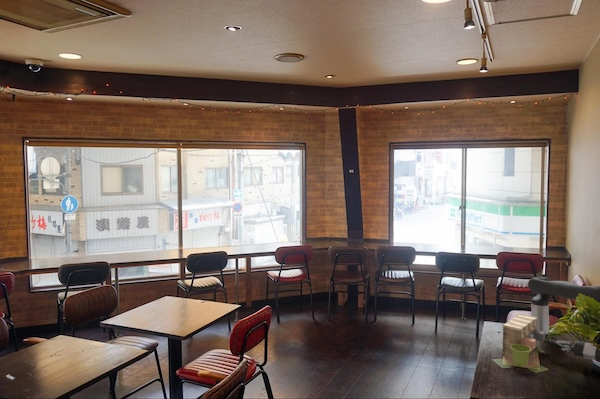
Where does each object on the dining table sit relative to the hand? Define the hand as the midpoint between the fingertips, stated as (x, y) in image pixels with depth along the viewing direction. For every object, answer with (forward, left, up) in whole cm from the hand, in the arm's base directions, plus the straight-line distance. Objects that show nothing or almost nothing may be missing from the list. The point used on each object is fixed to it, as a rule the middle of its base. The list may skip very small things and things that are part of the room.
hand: (547, 341), depth 244 cm
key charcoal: (-4, -8, -2) cm, 9 cm away
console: (+5, -12, -8) cm, 15 cm away
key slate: (+4, -9, -2) cm, 10 cm away
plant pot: (+21, -1, -8) cm, 23 cm away
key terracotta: (+10, -4, -2) cm, 11 cm away
